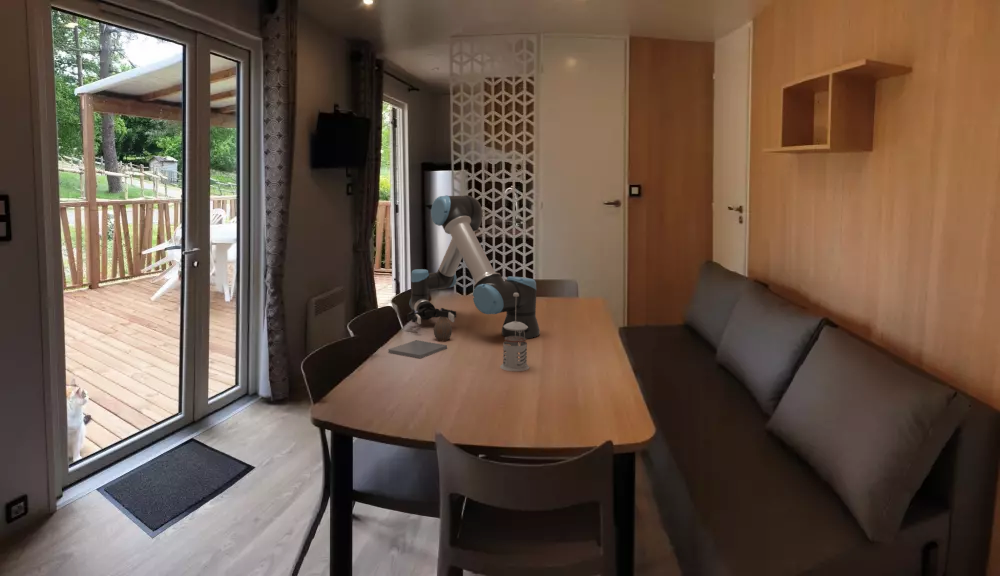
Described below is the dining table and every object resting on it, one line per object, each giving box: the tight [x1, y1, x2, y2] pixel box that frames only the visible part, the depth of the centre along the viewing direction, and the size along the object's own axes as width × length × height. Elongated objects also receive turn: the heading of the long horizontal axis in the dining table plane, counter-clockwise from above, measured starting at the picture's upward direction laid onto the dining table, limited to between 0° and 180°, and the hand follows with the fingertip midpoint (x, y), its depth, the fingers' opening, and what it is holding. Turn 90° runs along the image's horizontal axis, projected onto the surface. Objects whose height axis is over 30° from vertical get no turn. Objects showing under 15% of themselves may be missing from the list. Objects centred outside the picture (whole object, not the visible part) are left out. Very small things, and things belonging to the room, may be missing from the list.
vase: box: [433, 317, 453, 342], centre depth 247 cm, size 7×7×9 cm
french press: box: [499, 293, 530, 372], centre depth 212 cm, size 10×12×25 cm
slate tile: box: [388, 339, 448, 359], centre depth 231 cm, size 14×16×1 cm
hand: (436, 319), depth 255 cm, fingers open, 13 cm apart
